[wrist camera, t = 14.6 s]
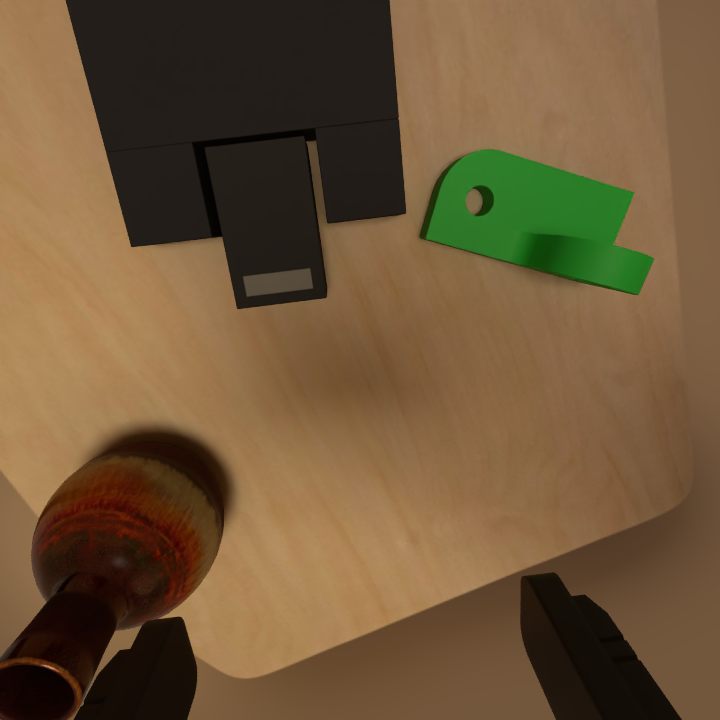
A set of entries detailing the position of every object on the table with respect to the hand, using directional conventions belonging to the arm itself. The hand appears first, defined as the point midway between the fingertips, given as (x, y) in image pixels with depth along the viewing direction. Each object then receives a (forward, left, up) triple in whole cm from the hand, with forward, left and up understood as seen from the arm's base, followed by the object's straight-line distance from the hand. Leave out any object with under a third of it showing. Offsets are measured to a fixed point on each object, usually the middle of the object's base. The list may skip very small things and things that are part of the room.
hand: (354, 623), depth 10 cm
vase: (+15, +9, -22) cm, 28 cm away
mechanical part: (-13, -8, -22) cm, 27 cm away
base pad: (+3, -16, -22) cm, 27 cm away
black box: (+3, -9, -22) cm, 24 cm away
